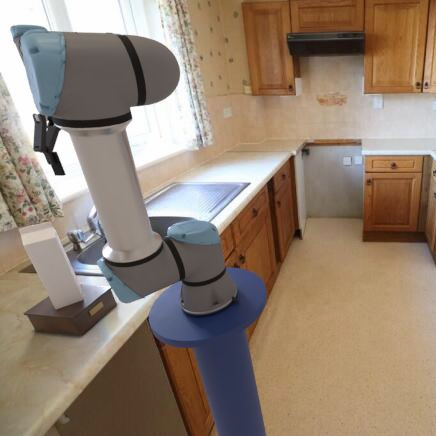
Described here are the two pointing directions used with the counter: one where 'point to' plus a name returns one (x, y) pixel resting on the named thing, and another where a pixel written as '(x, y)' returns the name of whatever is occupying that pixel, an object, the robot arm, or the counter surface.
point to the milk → (51, 264)
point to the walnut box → (73, 312)
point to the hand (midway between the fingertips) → (81, 168)
